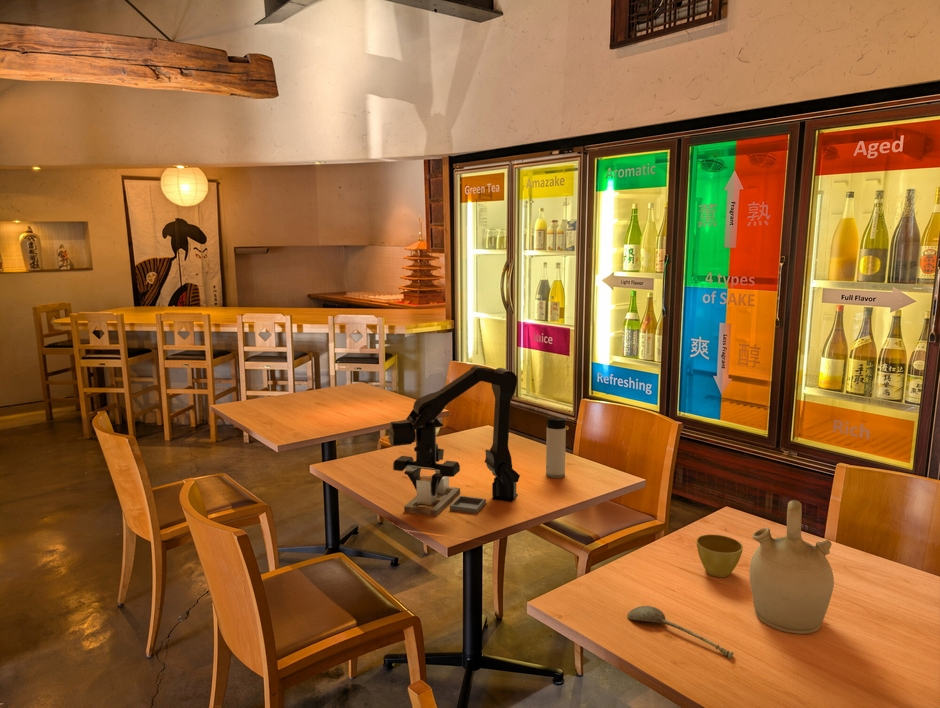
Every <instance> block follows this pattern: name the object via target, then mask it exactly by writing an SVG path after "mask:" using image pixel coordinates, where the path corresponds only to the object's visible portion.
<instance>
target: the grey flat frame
mask: <svg viewBox="0 0 940 708" xmlns="http://www.w3.org/2000/svg"><path fill="white" fill-rule="evenodd" d="M460 494H461V488H460V487H455V486H449V493H448V494H447V495H446V496H441V495H437V500H436V501H435V502H434V503H433V504H432V505H431V506H433V507H431V508H430V507H425V506H420V504H417V495H416V496H415V497H413V498H412V499H411V500H410V501H409V502H407V503H406V504H405V505H404V506H403V511H404V513H410V514H417V515H424V516H431V517H438V516H439V515H440V514H441V513H442V512H443V511H444V510H445V509H446V508H447V507H448V506H450V505H451V504H452V503H453V502H454V501H455V500H456V499H457V498H458V497H459V496H460Z"/></svg>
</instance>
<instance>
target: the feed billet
mask: <svg viewBox="0 0 940 708" xmlns="http://www.w3.org/2000/svg"><path fill="white" fill-rule="evenodd" d="M416 485H417V491H416V496H417V504H419V505H427V506H433V505H432V504H433V503H434V502H435V501H436V500H437V492H436V495H435V496H433V492H432V475H430V476H429V475H424V474H423V475H420V478H419V479H417V480H416Z"/></svg>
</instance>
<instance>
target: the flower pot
mask: <svg viewBox="0 0 940 708" xmlns="http://www.w3.org/2000/svg"><path fill="white" fill-rule="evenodd" d="M696 548H697V549H696V550H697V553H698V556H699V559H700V561H701V564H702V566H703V569H705V572H706V573H707V574H709V575H710V576H713V577H716V578H726V577H728V576H730V575H731V574H732V572H734V570H735V568H736V567H737V565H738V564H739V561H740V560H741V557H742V553H743V549H744V546H743V544H742V543H741V542H740V541H739V540H737V539H735V538H732V537H731V536H730V537H729V536H726V535H722V534H714V533H713V534H702V535H700V536H698V537H697V538H696Z"/></svg>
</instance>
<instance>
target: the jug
mask: <svg viewBox="0 0 940 708" xmlns="http://www.w3.org/2000/svg"><path fill="white" fill-rule="evenodd" d="M802 507H803V505H802V503H801V502H800V501H798V500H794V499H793V500H790V501H788V503H787V511H786V535H785V536H781V537H776V538H773V537H772V534H771V529H770V528H769V527H762V528H759V529H758V530H756V531H754V533H752V535H751V537H752V539H753V540H755V541H756V542H758V543H759V546H758V547H756V549H755V550H754V552H753V554H752V556H751V558H750V562H749V585H750V590H751V595H752V601H753V602H752V603H753V607H754V613H755V615H756V617H757V618H758V619H759V620H760V621H761V622H762V623H764V625H766V626H768V627H770V628H772V629H775V630H776V631H777V630H778V631H780V632H783V633H786V634H787V633H788V634H795V635H809V634H813V633H816V632H817V631H819V630H820V629H821V628H822V623H823V621H824V619H825V617H826V614H827V611H828V608H829V605H830V602H831V598H832V594H833V591H834V585H835V581H834V580H835V579H834V572H833V568H832V566H831V564H830V562H829V560H828V559H827V557H826V555H830V553H831V551H830V549H831V547H832V542H831V540H829V539H825V540H821V541H817V542H816V543H815V545H813V544H811V543H810V542H807V541H806V540H803V537H802V514H803V513H802V512H803V511H802V510H803V509H802Z"/></svg>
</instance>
